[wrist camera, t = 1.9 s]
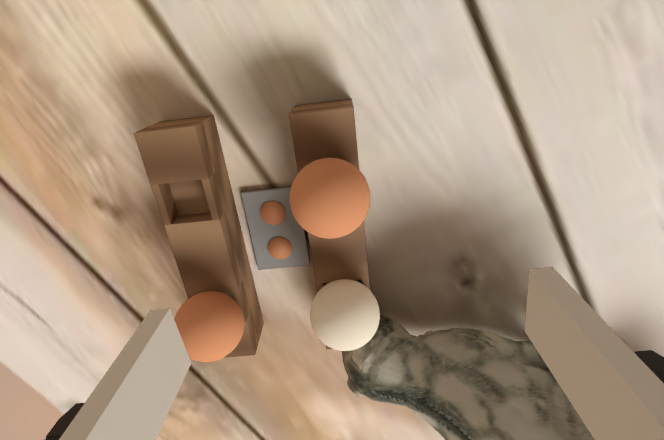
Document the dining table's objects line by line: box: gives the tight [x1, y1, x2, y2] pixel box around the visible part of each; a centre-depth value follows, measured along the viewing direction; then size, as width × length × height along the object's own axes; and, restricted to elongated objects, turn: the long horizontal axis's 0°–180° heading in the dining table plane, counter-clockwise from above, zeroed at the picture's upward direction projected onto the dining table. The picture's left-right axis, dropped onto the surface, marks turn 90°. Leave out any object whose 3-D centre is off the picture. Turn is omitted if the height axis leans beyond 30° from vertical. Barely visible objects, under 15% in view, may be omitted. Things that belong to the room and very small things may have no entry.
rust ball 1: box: [174, 291, 244, 362], centre depth 28 cm, size 5×5×5 cm
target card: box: [241, 186, 310, 270], centre depth 31 cm, size 7×4×1 cm, turn 7°
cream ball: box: [310, 279, 380, 351], centre depth 28 cm, size 5×5×5 cm
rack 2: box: [289, 99, 370, 349], centre depth 29 cm, size 19×4×4 cm, turn 7°
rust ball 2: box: [290, 158, 370, 239], centre depth 24 cm, size 5×5×5 cm
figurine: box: [342, 314, 594, 440], centre depth 29 cm, size 10×19×20 cm
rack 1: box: [134, 115, 264, 357], centre depth 30 cm, size 19×4×4 cm, turn 7°
